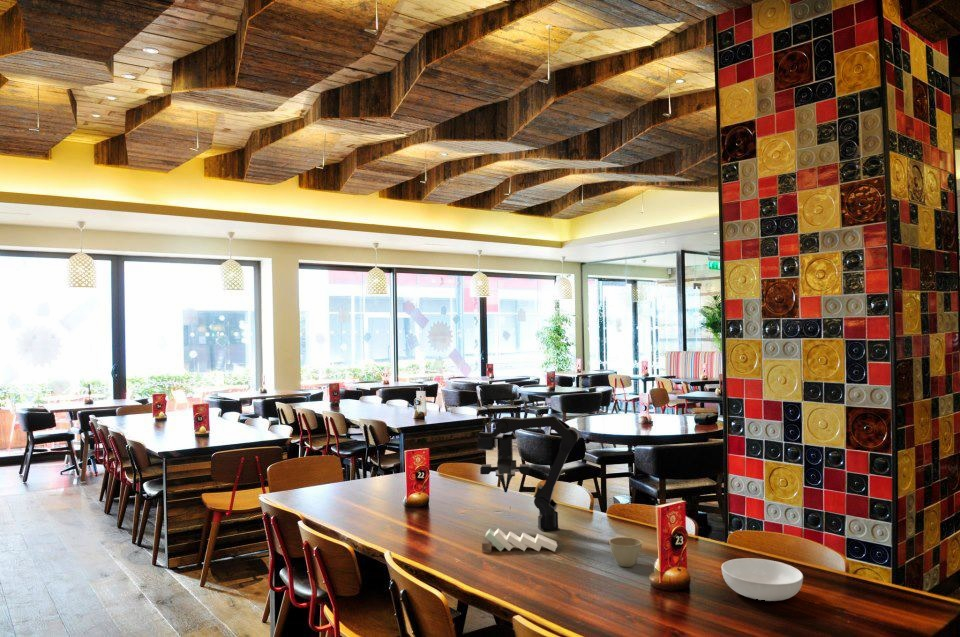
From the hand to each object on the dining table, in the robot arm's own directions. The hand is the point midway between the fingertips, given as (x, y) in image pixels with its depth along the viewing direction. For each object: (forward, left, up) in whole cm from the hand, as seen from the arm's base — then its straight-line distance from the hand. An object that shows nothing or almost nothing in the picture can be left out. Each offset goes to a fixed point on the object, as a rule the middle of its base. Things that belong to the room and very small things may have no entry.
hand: (505, 492), depth 266 cm
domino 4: (-7, +32, -12) cm, 35 cm away
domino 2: (+2, +28, -12) cm, 31 cm away
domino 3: (-2, +30, -12) cm, 32 cm away
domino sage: (+10, +26, -12) cm, 30 cm away
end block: (+15, +24, -13) cm, 31 cm away
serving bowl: (-45, +88, -13) cm, 100 cm away
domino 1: (+7, +26, -12) cm, 30 cm away
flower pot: (-22, +53, -13) cm, 59 cm away
